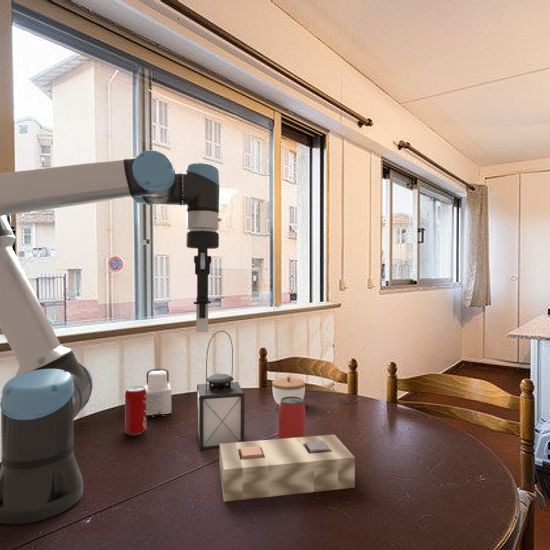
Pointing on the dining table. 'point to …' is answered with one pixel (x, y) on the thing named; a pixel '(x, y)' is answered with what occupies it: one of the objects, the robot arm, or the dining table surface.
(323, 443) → the metal peg
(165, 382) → the container
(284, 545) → the dining table surface
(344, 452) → the birch block
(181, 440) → the dining table surface
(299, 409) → the beer can
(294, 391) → the lidded jar
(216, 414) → the lantern
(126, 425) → the soda can
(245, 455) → the terracotta peg
